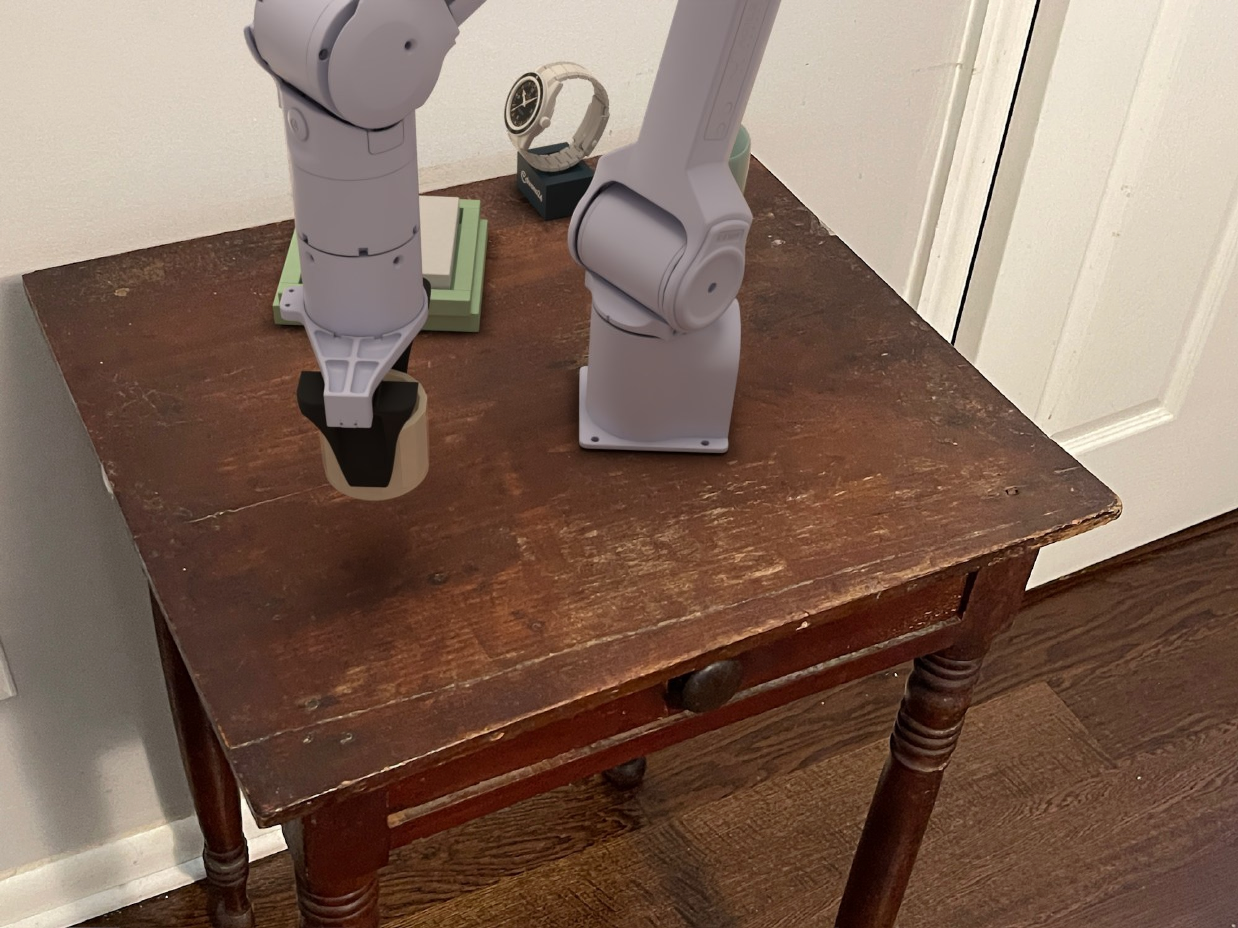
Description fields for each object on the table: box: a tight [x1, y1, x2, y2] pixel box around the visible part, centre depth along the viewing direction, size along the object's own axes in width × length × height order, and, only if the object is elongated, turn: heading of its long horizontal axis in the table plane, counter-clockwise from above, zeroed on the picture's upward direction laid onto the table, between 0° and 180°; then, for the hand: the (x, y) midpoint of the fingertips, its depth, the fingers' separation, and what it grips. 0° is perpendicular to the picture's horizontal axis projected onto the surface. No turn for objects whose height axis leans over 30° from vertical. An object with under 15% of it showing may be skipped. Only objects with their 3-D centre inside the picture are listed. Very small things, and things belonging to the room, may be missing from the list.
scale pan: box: [419, 195, 461, 290], centre depth 96 cm, size 10×10×2 cm
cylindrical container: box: [318, 369, 431, 502], centre depth 72 cm, size 6×6×4 cm
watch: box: [503, 60, 611, 222], centre depth 104 cm, size 6×8×11 cm
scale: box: [272, 198, 489, 333], centre depth 97 cm, size 14×13×3 cm
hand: (375, 442), depth 72 cm, fingers closed on cylindrical container, 5 cm apart
